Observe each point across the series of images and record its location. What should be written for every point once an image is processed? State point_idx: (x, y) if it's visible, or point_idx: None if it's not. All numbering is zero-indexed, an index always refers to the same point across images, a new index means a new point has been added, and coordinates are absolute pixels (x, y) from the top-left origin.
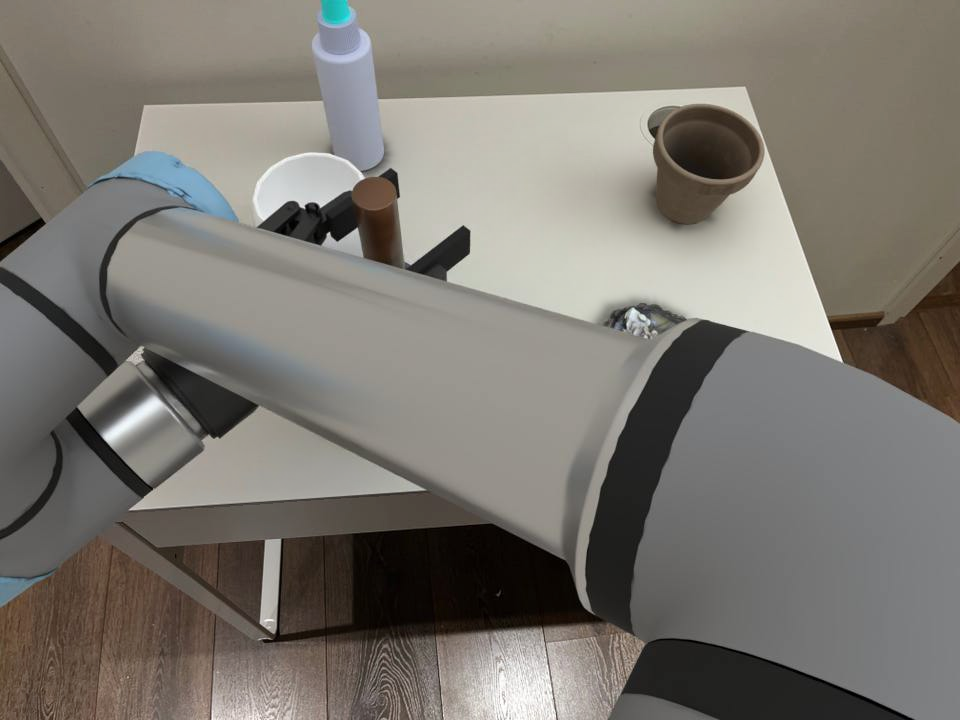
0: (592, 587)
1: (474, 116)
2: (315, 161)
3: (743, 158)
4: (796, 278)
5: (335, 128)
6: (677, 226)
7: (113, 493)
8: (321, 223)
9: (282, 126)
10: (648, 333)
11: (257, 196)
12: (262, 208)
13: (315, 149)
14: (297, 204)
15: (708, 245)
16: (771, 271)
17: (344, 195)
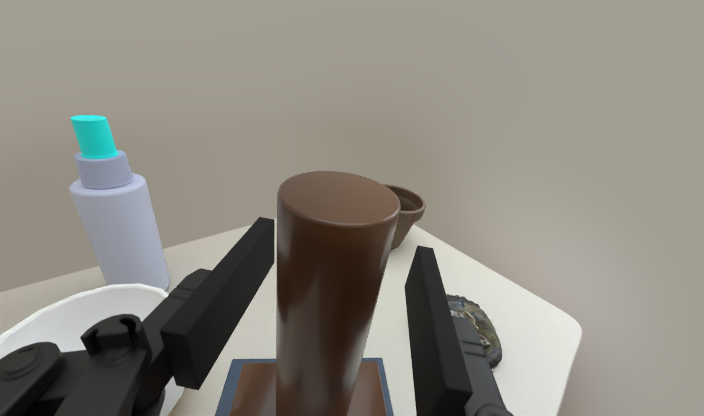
0: None
1: (235, 235)
2: (90, 301)
3: (406, 204)
4: (458, 252)
5: (112, 267)
6: (391, 251)
7: None
8: (151, 364)
9: (37, 295)
10: (452, 314)
11: None
12: None
13: None
14: (50, 347)
15: (413, 253)
16: (447, 254)
17: (191, 280)
